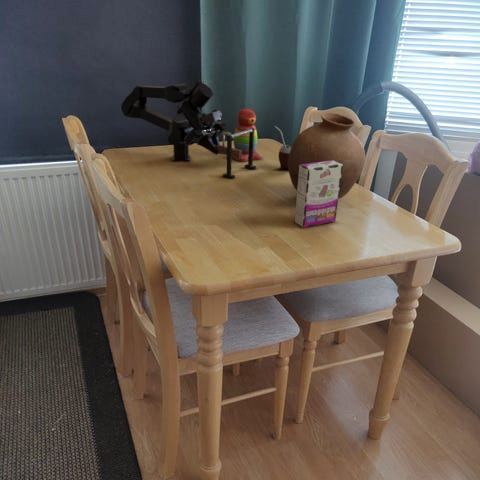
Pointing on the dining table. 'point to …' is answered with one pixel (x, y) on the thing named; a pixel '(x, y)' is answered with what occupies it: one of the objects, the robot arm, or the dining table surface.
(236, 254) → the dining table surface
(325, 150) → the pottery
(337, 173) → the candy bar box
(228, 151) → the clothes rail
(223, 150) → the hanger
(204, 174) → the dining table surface
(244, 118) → the stacking bear
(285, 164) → the mate gourd
